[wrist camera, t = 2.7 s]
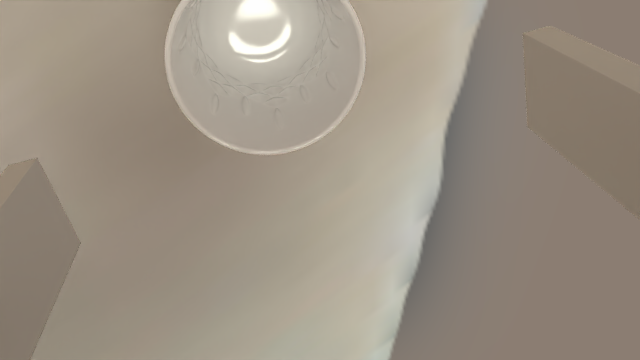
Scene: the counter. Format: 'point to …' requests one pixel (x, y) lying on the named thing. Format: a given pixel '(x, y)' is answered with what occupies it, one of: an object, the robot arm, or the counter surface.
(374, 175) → the counter surface
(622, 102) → the robot arm
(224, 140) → the white cup
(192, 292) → the counter surface
